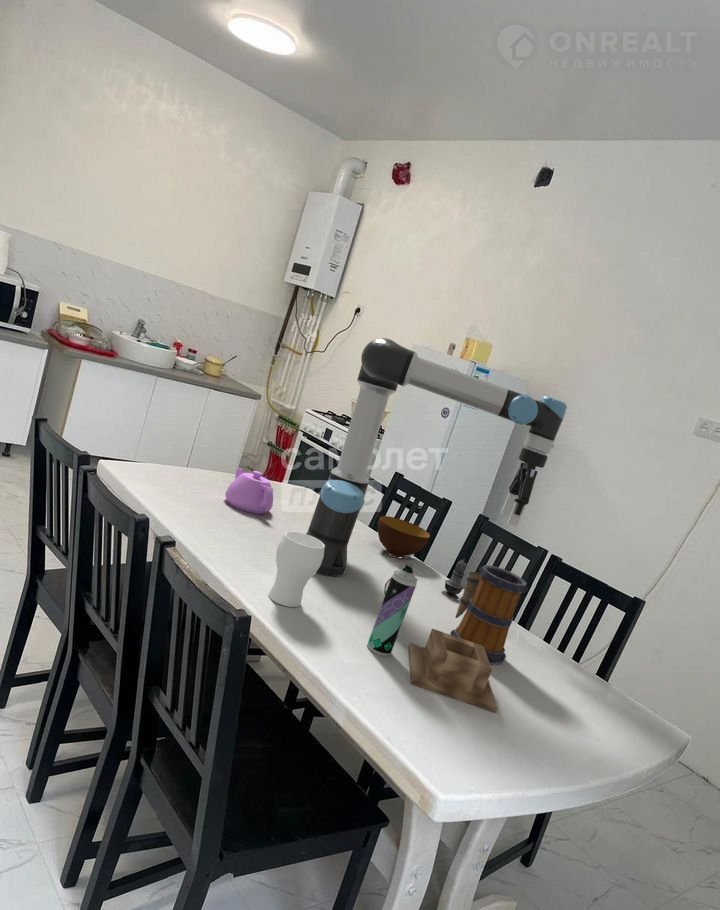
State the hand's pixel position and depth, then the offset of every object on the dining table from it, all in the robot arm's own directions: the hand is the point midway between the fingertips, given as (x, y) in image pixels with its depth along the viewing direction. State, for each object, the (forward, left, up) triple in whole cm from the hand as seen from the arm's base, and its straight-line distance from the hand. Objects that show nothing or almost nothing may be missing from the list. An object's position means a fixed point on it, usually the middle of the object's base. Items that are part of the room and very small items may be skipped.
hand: (508, 519), depth 199 cm
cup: (-53, -44, -28) cm, 74 cm away
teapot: (-76, +23, -28) cm, 84 cm away
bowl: (-25, +26, -28) cm, 45 cm away
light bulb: (-28, -36, -28) cm, 53 cm away
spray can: (-30, -54, -28) cm, 67 cm away
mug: (-6, -32, -28) cm, 43 cm away
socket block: (-14, -56, -28) cm, 64 cm away
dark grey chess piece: (-8, +2, -28) cm, 29 cm away
